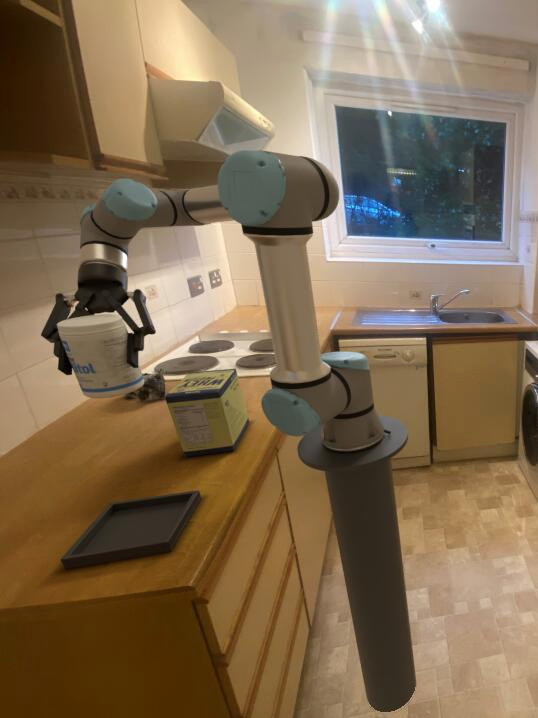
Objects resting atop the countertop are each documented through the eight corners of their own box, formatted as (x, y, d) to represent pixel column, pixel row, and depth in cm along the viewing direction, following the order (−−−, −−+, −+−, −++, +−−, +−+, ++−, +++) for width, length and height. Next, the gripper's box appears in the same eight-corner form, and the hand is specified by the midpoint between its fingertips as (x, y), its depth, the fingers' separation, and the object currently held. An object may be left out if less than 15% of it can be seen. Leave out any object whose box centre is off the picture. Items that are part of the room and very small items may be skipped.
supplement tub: (70, 399, 84) (38, 325, 78) (114, 380, 92) (88, 313, 87) (118, 401, 83) (89, 326, 78) (158, 381, 92) (134, 314, 86)
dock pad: (201, 498, 86) (199, 489, 85) (171, 551, 73) (167, 541, 72) (113, 511, 82) (109, 502, 81) (65, 569, 69) (60, 559, 68)
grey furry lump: (180, 371, 139) (157, 360, 125) (180, 404, 137) (156, 397, 123) (137, 373, 136) (108, 362, 122) (136, 407, 134) (106, 400, 120)
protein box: (250, 421, 116) (236, 367, 110) (235, 451, 102) (218, 391, 96) (205, 427, 113) (188, 371, 107) (183, 458, 99) (163, 396, 93)
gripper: (174, 280, 97) (176, 369, 90) (45, 286, 89) (36, 384, 82) (160, 258, 91) (161, 352, 84) (19, 263, 83) (7, 367, 76)
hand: (99, 368), depth 83 cm, fingers closed on supplement tub, 10 cm apart
